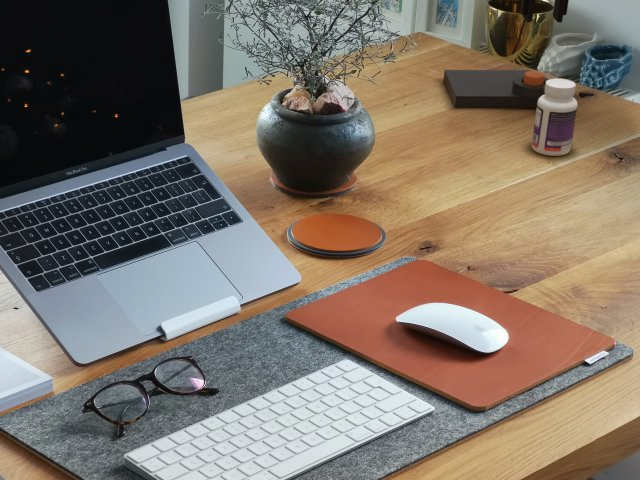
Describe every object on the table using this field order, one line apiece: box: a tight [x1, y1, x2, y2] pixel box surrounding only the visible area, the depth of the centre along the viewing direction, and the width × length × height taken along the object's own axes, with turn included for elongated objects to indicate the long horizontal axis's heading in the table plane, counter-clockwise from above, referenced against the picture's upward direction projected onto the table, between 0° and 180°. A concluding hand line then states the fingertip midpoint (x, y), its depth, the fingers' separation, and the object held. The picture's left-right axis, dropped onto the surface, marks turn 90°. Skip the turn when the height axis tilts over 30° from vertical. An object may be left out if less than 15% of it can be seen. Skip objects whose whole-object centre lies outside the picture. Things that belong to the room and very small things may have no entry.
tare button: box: [523, 70, 545, 86], centre depth 170 cm, size 3×3×2 cm
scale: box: [443, 69, 551, 109], centre depth 174 cm, size 15×13×4 cm
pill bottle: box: [531, 78, 579, 157], centre depth 154 cm, size 5×5×10 cm
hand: (542, 18), depth 165 cm, fingers open, 3 cm apart
